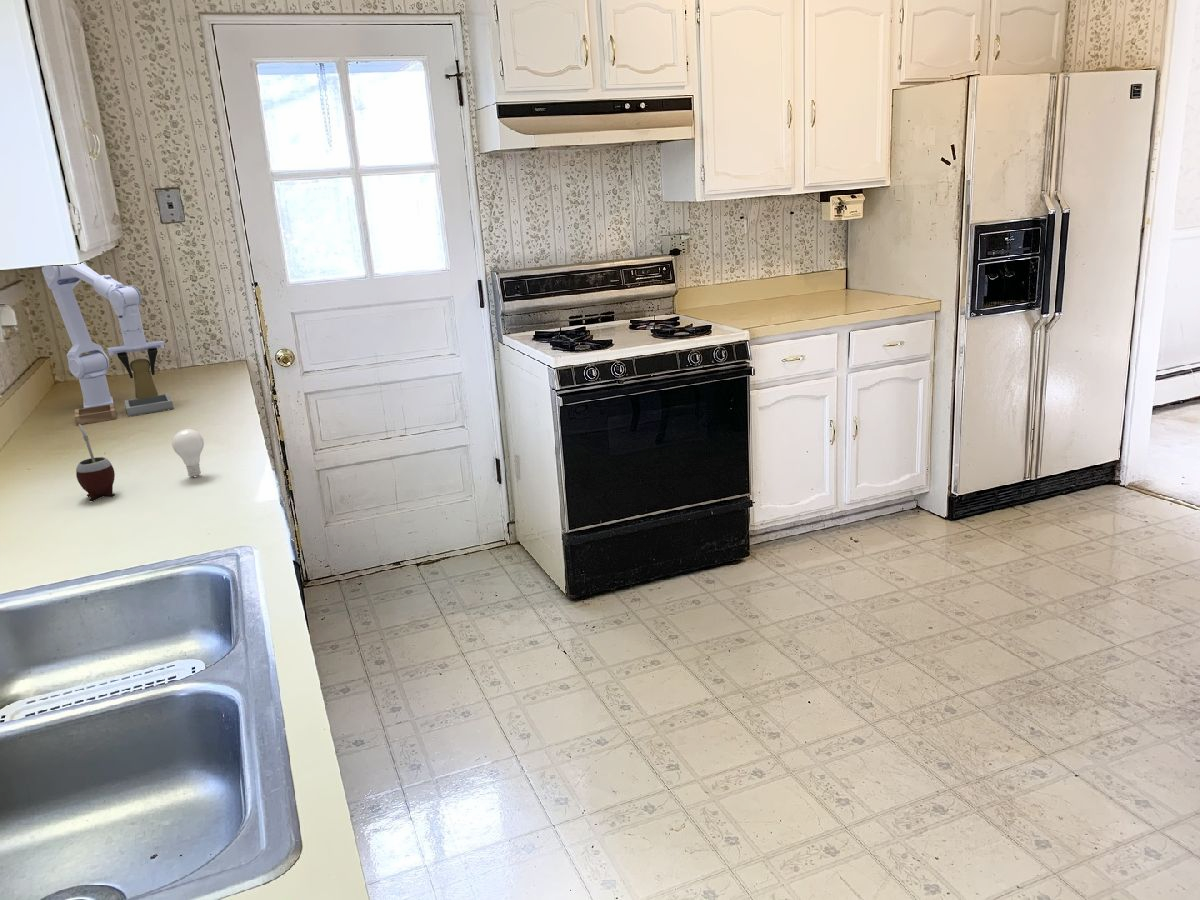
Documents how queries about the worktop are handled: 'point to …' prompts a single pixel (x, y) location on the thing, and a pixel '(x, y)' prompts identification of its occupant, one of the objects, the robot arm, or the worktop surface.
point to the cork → (143, 379)
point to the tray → (148, 404)
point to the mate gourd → (95, 474)
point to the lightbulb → (189, 449)
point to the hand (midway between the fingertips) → (142, 376)
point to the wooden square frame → (95, 414)
